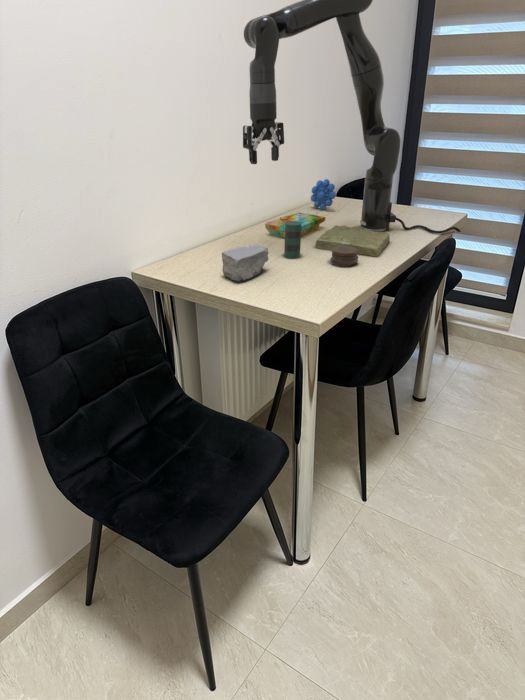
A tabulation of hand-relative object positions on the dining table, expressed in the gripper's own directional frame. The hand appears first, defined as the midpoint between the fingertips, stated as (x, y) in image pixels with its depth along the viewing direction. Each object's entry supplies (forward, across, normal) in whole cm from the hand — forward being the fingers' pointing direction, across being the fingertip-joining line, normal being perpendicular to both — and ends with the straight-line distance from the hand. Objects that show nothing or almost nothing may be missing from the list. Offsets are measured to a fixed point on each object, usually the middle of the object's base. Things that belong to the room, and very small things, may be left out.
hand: (264, 162), depth 153 cm
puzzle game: (+26, +19, +6) cm, 33 cm away
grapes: (+26, +51, +20) cm, 60 cm away
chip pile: (+26, +6, -26) cm, 38 cm away
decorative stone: (+26, -22, -14) cm, 37 cm away
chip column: (+26, -1, -12) cm, 28 cm away
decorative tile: (+27, +22, -17) cm, 39 cm away
